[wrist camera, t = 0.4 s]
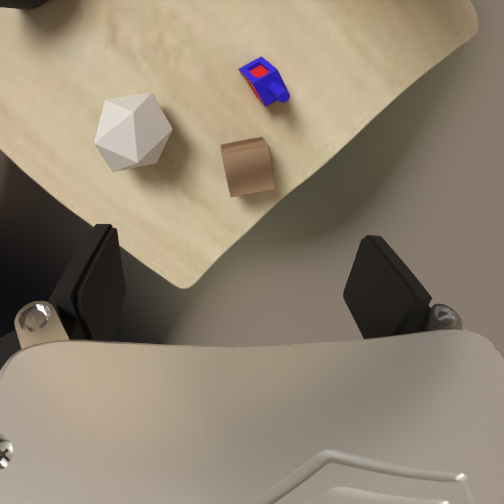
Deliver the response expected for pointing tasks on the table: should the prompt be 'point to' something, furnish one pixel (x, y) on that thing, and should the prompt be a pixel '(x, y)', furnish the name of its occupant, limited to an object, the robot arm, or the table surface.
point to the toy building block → (265, 81)
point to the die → (132, 131)
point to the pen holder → (21, 3)
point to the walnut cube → (248, 166)
